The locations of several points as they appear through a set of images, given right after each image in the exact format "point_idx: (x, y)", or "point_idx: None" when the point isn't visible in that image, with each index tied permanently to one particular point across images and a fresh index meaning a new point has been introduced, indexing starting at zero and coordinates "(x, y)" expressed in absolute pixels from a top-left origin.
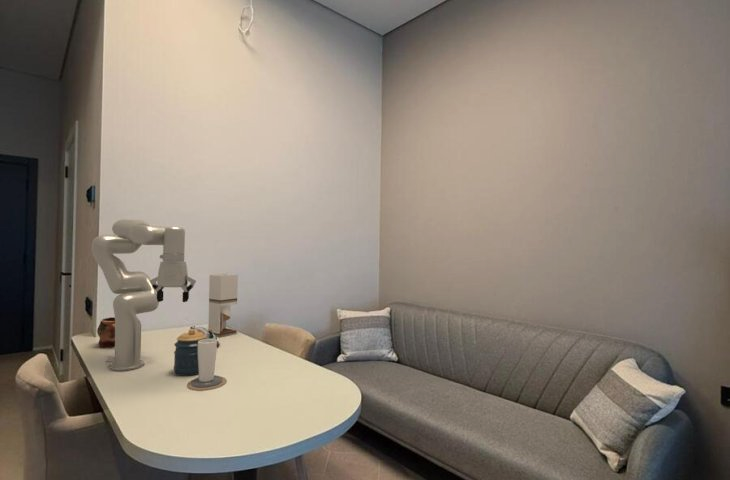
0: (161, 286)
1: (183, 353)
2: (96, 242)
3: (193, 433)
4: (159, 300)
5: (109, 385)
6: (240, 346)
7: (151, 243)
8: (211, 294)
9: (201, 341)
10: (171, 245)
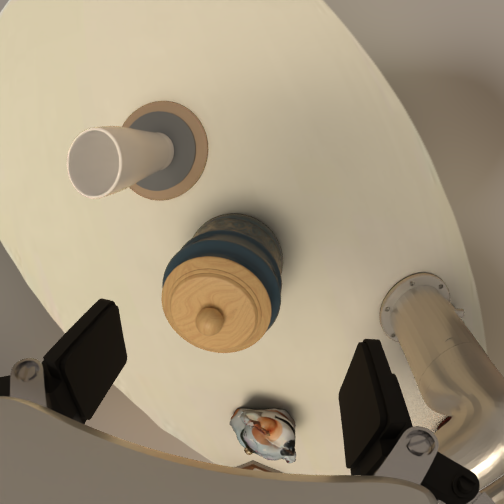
0: (364, 480)
1: (233, 236)
2: None
3: None
4: (361, 348)
5: (416, 165)
6: (184, 411)
7: None
8: None
9: (119, 176)
10: None
